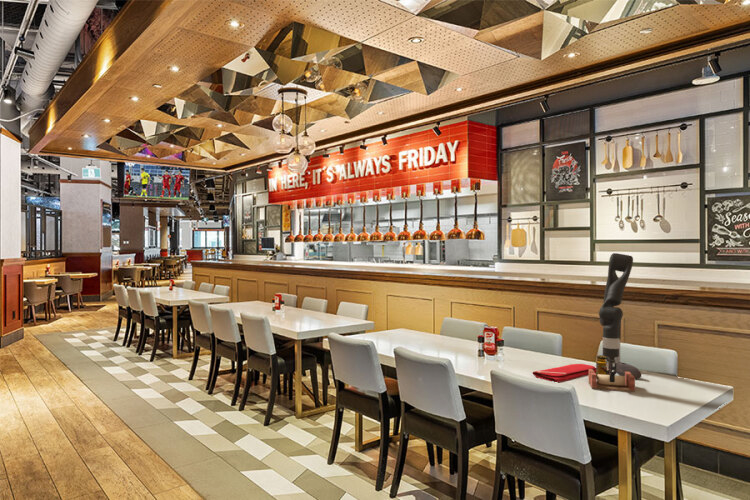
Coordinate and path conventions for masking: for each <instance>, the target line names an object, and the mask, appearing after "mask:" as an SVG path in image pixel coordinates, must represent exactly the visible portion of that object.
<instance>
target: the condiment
mask: <svg viewBox="0 0 750 500" xmlns="http://www.w3.org/2000/svg"><path fill="white" fill-rule="evenodd" d="M595 368H596V373H595V374H596V375H597V374H601V375H607V369H606V356H603V354H601V355H597V356H596V361H595Z"/></svg>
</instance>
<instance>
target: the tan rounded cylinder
mask: <svg viewBox="0 0 750 500" xmlns="http://www.w3.org/2000/svg"><path fill="white" fill-rule="evenodd" d="M597 383H598V385H612V386H625V376H622V375H616V374H615V382H610V375H601V374H597Z"/></svg>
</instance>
